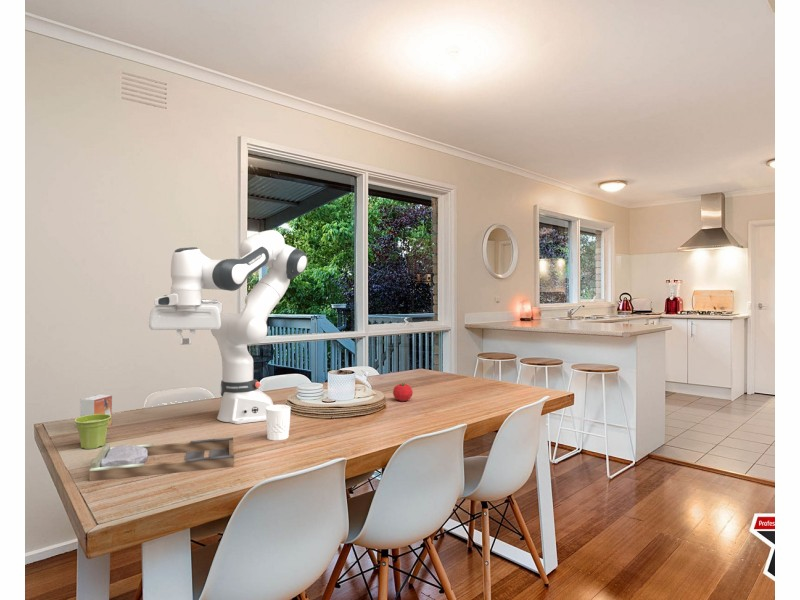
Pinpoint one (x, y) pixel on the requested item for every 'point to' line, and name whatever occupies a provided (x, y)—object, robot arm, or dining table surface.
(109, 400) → the small box
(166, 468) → the box
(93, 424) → the plant pot
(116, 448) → the stone block
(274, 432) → the white cup
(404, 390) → the tomato
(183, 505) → the dining table surface
